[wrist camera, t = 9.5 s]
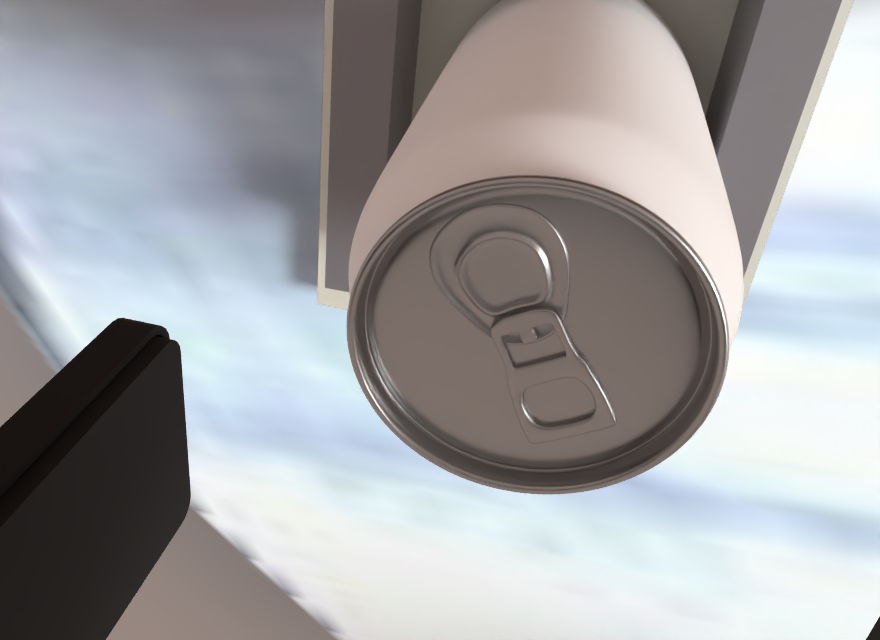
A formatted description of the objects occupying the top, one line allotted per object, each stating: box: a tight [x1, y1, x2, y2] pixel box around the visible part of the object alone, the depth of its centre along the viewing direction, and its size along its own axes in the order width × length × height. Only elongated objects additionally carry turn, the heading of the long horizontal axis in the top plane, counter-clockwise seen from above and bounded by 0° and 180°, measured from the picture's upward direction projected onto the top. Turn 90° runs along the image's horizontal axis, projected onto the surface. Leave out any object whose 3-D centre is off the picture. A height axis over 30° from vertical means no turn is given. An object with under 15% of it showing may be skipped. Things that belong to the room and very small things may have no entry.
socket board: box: [317, 0, 854, 310], centre depth 21 cm, size 16×13×4 cm
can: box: [347, 0, 744, 494], centre depth 17 cm, size 6×6×12 cm
